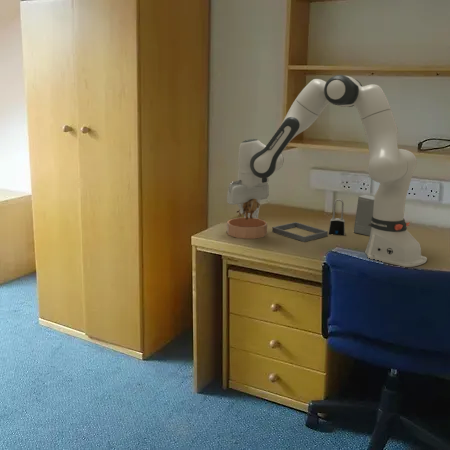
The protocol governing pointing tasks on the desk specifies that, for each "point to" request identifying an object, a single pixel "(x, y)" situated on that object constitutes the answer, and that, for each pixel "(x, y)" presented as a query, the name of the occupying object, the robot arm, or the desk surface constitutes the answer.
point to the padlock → (337, 222)
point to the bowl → (247, 228)
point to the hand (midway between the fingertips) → (247, 212)
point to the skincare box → (364, 215)
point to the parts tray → (282, 231)
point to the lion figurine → (250, 208)
